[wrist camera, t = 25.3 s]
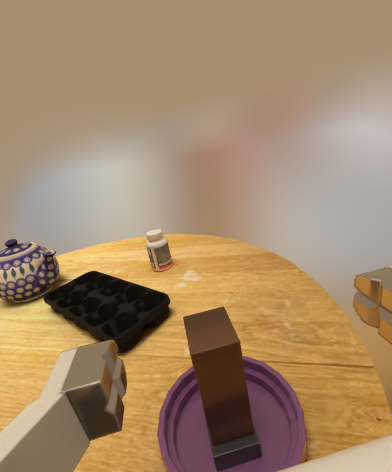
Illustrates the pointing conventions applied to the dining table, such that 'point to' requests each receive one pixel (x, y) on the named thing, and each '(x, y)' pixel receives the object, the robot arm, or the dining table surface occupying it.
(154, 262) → the pill bottle
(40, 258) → the teapot
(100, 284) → the black muffin tray
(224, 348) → the brown rectangular block
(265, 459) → the purple round dish
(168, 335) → the dining table surface
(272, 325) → the dining table surface
